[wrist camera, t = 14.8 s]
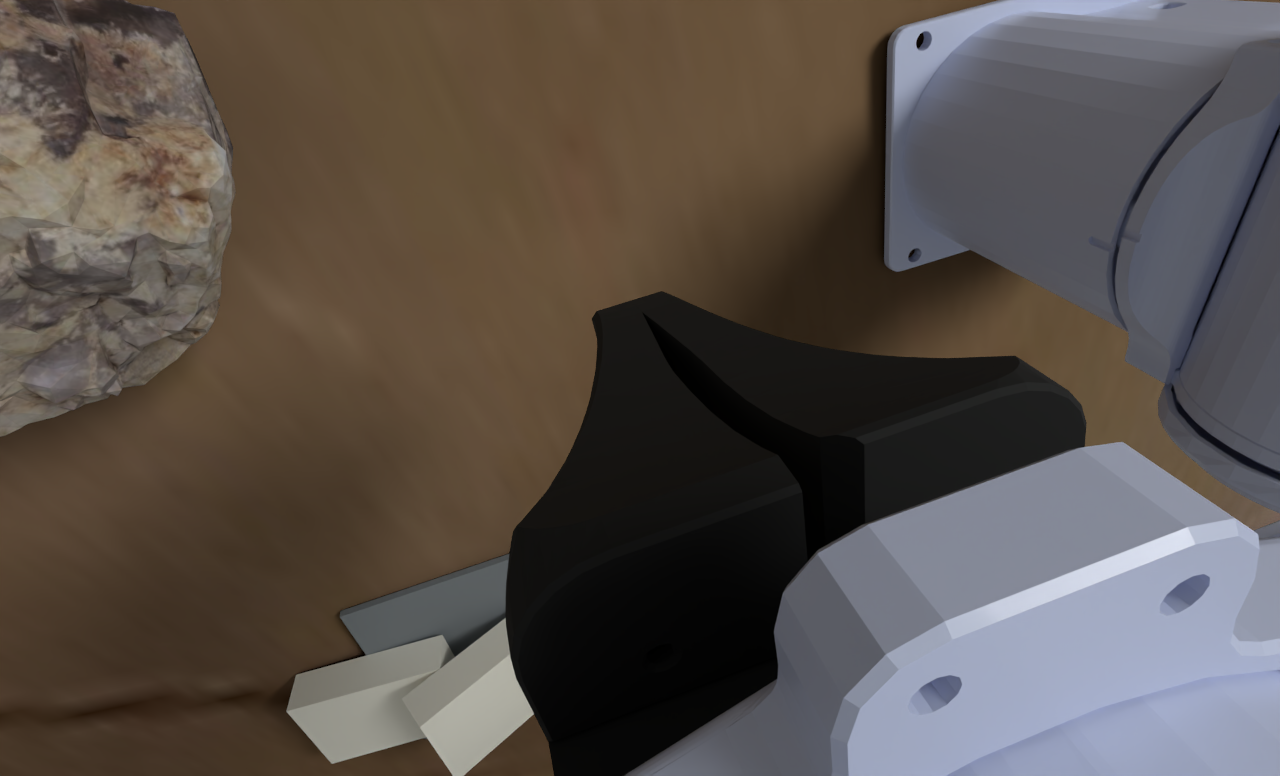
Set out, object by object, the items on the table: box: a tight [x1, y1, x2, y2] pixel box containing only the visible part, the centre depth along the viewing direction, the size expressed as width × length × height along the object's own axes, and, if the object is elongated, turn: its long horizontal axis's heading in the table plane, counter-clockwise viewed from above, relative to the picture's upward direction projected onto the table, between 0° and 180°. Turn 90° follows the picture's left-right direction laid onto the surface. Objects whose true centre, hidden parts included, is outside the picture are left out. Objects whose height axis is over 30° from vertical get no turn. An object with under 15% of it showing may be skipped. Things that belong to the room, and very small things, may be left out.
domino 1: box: [286, 635, 455, 764], centre depth 28 cm, size 2×4×6 cm
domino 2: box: [402, 618, 534, 776], centre depth 28 cm, size 2×4×6 cm
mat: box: [340, 554, 509, 739], centre depth 31 cm, size 26×9×1 cm, turn 102°
